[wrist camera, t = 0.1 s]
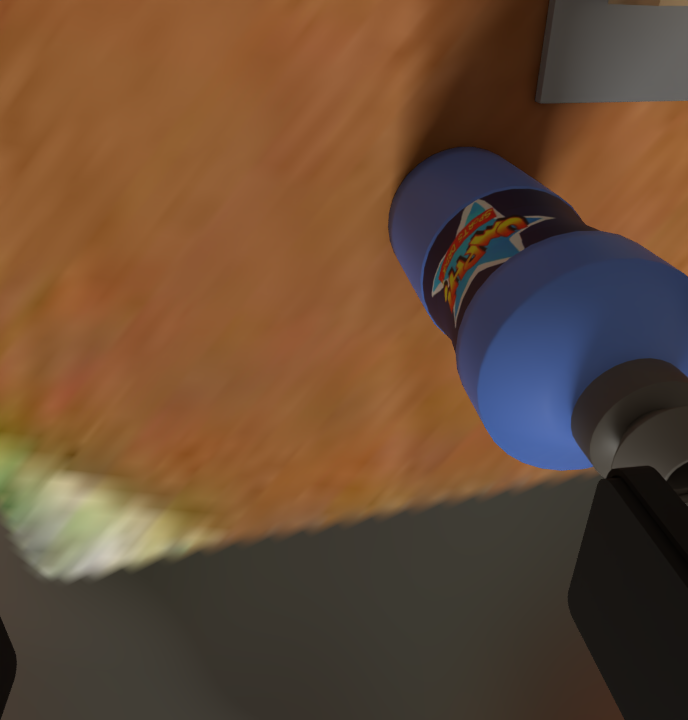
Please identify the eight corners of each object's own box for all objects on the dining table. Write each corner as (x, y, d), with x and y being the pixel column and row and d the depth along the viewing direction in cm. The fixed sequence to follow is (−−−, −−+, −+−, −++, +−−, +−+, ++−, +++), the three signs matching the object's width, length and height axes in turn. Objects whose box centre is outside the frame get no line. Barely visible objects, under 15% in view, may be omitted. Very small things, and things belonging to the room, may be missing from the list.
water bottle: (557, 208, 41) (897, 451, 19) (455, 312, 44) (652, 622, 22) (460, 110, 37) (750, 277, 15) (355, 231, 40) (477, 512, 18)
